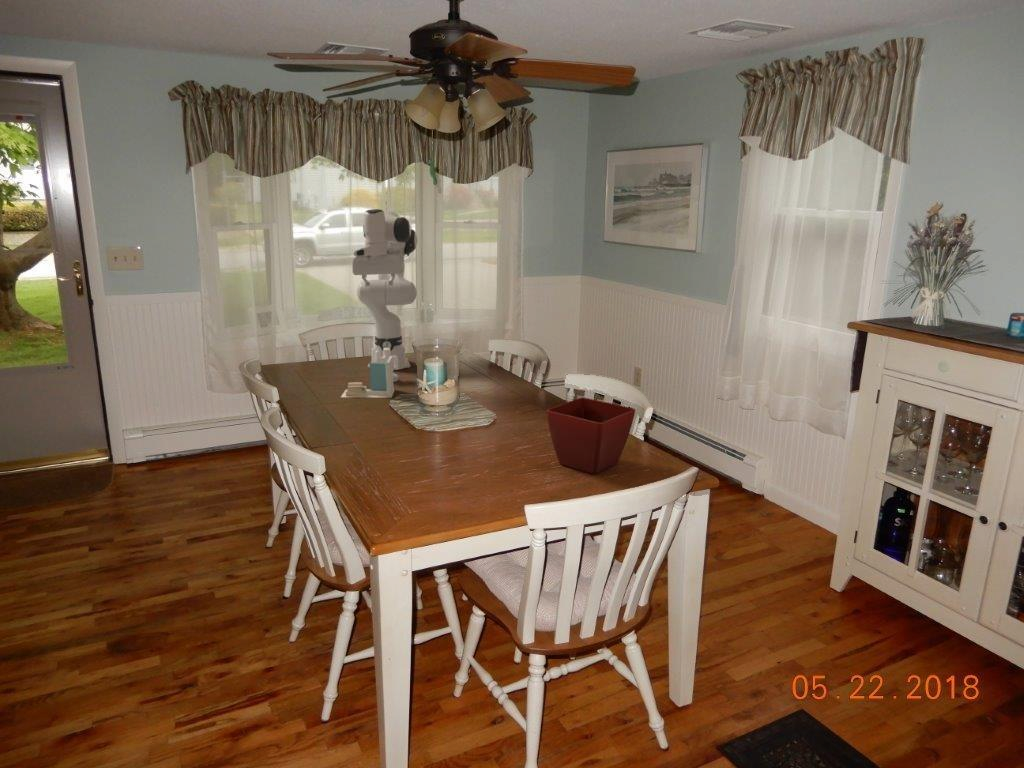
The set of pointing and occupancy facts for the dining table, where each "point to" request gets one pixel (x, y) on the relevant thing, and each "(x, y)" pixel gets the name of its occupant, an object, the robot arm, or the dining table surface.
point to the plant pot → (589, 433)
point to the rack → (390, 386)
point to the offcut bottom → (357, 392)
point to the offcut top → (355, 386)
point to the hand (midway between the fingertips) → (379, 286)
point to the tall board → (378, 376)
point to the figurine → (385, 358)
